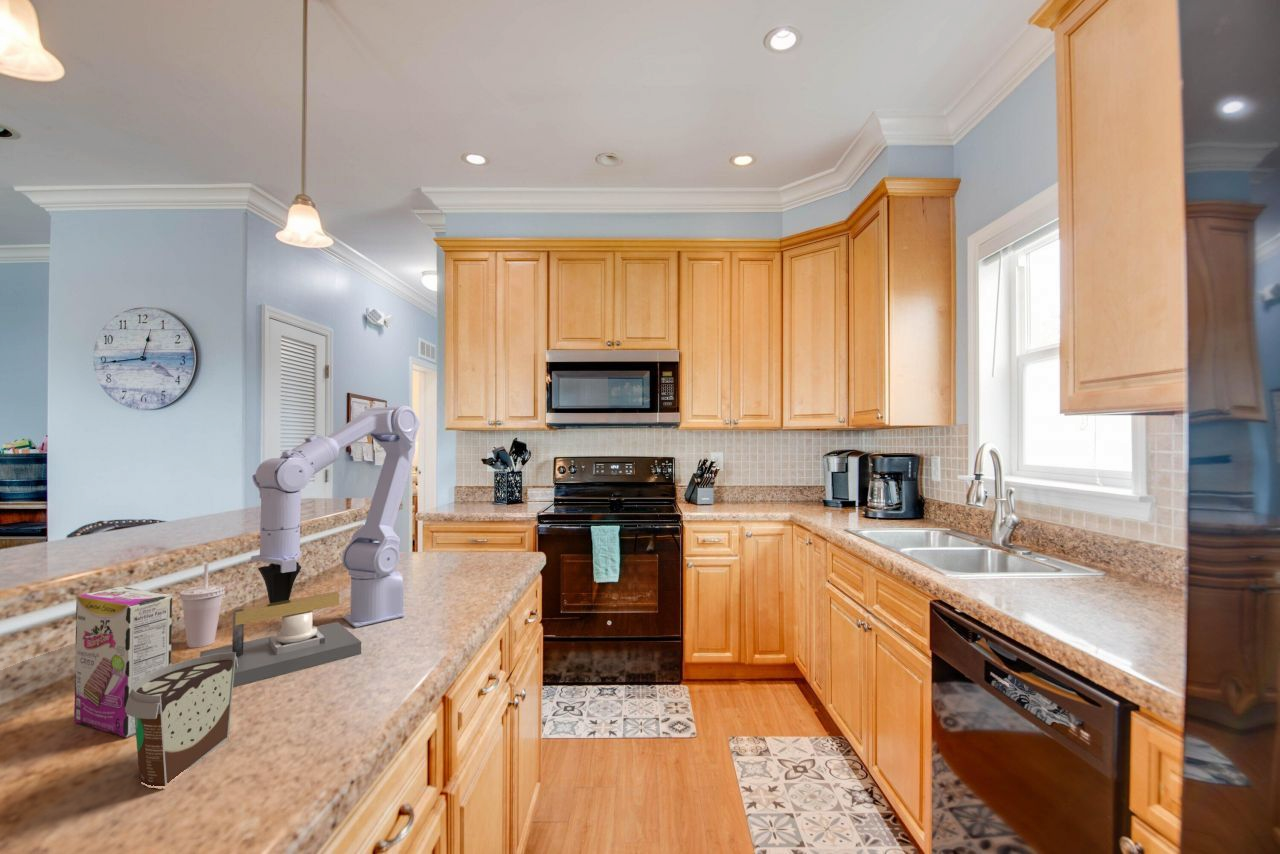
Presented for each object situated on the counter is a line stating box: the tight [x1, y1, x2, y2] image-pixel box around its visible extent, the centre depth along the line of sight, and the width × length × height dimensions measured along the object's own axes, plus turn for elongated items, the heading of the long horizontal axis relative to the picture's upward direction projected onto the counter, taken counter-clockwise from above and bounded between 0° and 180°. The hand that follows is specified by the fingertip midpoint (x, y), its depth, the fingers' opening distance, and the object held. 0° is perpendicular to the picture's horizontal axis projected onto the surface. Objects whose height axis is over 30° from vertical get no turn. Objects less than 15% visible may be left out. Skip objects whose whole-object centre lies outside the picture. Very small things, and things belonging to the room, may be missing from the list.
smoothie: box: [178, 563, 226, 649], centre depth 94 cm, size 6×6×14 cm
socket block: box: [199, 621, 362, 688], centre depth 87 cm, size 20×14×3 cm
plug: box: [275, 610, 317, 646], centre depth 88 cm, size 6×6×5 cm
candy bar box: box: [73, 586, 173, 738], centre depth 67 cm, size 11×5×16 cm, turn 71°
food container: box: [125, 652, 238, 786], centre depth 59 cm, size 12×6×10 cm, turn 5°
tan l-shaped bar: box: [231, 591, 340, 657], centre depth 88 cm, size 15×2×7 cm, turn 134°
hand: (279, 607), depth 90 cm, fingers closed
